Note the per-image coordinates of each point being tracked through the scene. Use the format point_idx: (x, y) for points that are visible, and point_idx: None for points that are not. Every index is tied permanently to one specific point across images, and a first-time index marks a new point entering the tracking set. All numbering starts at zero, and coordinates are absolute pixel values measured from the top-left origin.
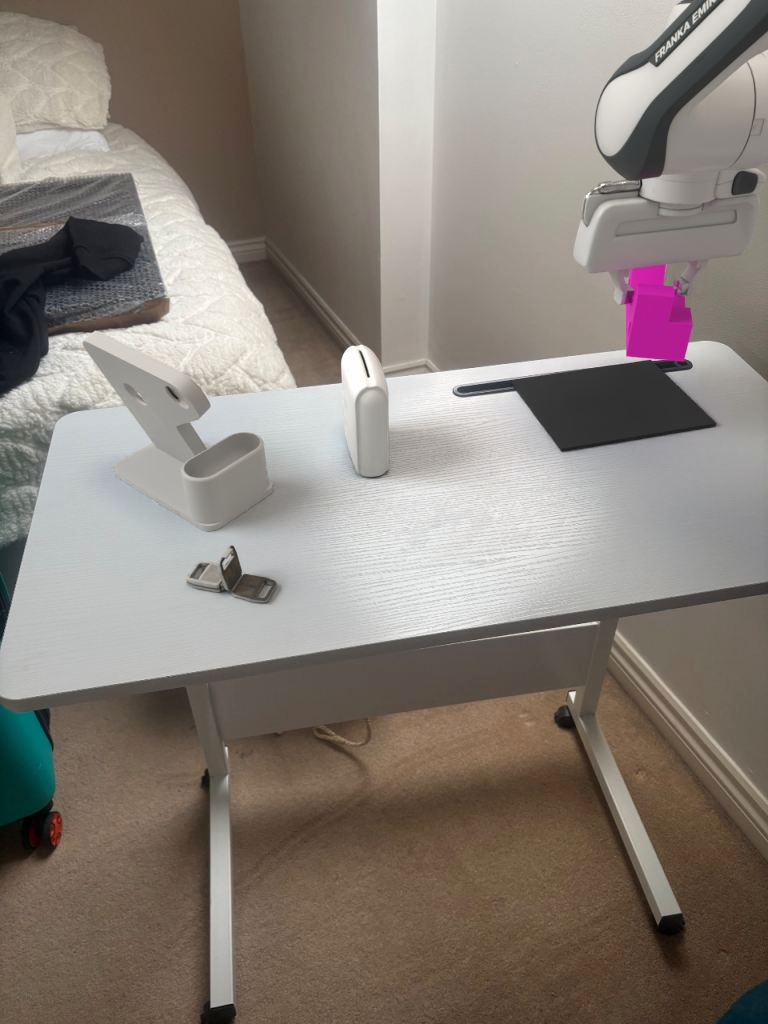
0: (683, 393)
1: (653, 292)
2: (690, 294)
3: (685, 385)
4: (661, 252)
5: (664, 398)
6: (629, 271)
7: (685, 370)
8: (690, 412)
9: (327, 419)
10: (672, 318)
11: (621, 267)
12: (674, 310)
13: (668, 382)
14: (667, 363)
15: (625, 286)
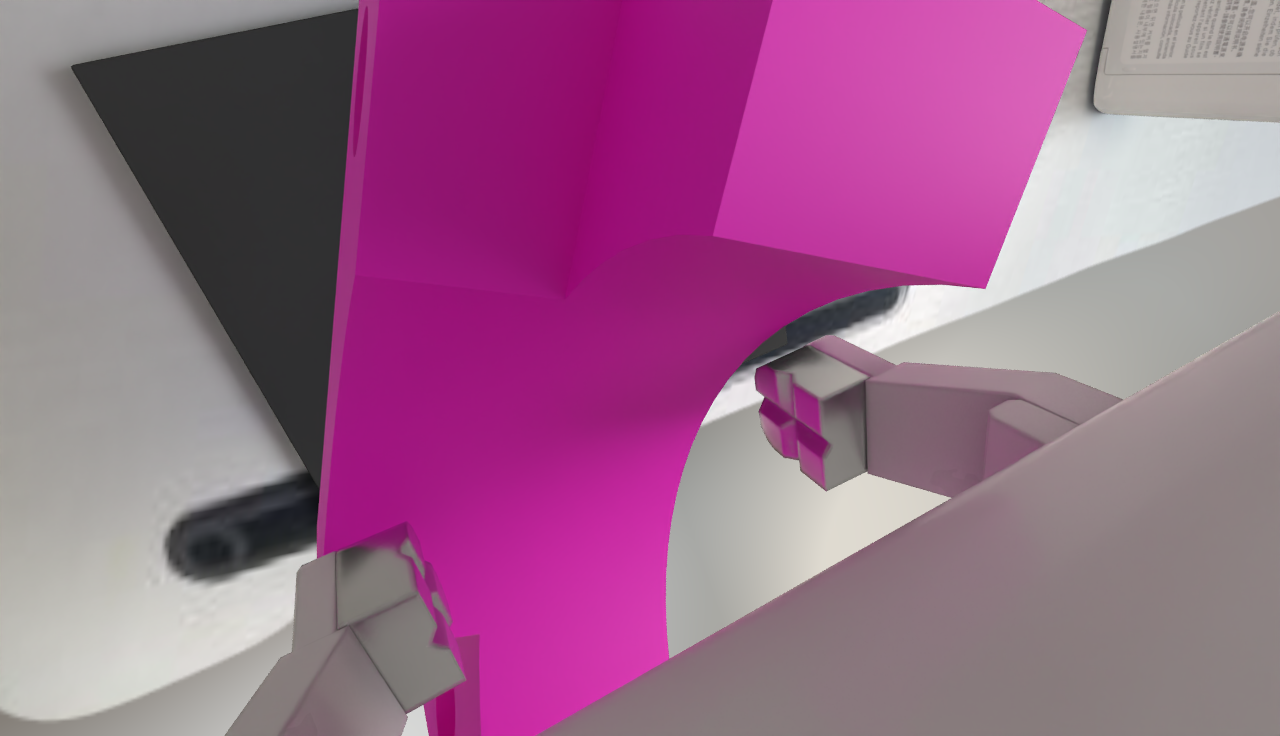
0: (231, 316)
1: (956, 63)
2: (300, 567)
3: (210, 399)
4: (1032, 650)
5: (323, 274)
6: (1032, 436)
7: (200, 506)
8: (211, 163)
9: (1136, 156)
10: (579, 38)
11: (1218, 368)
12: (521, 215)
13: (291, 391)
14: (274, 538)
15: (918, 382)
